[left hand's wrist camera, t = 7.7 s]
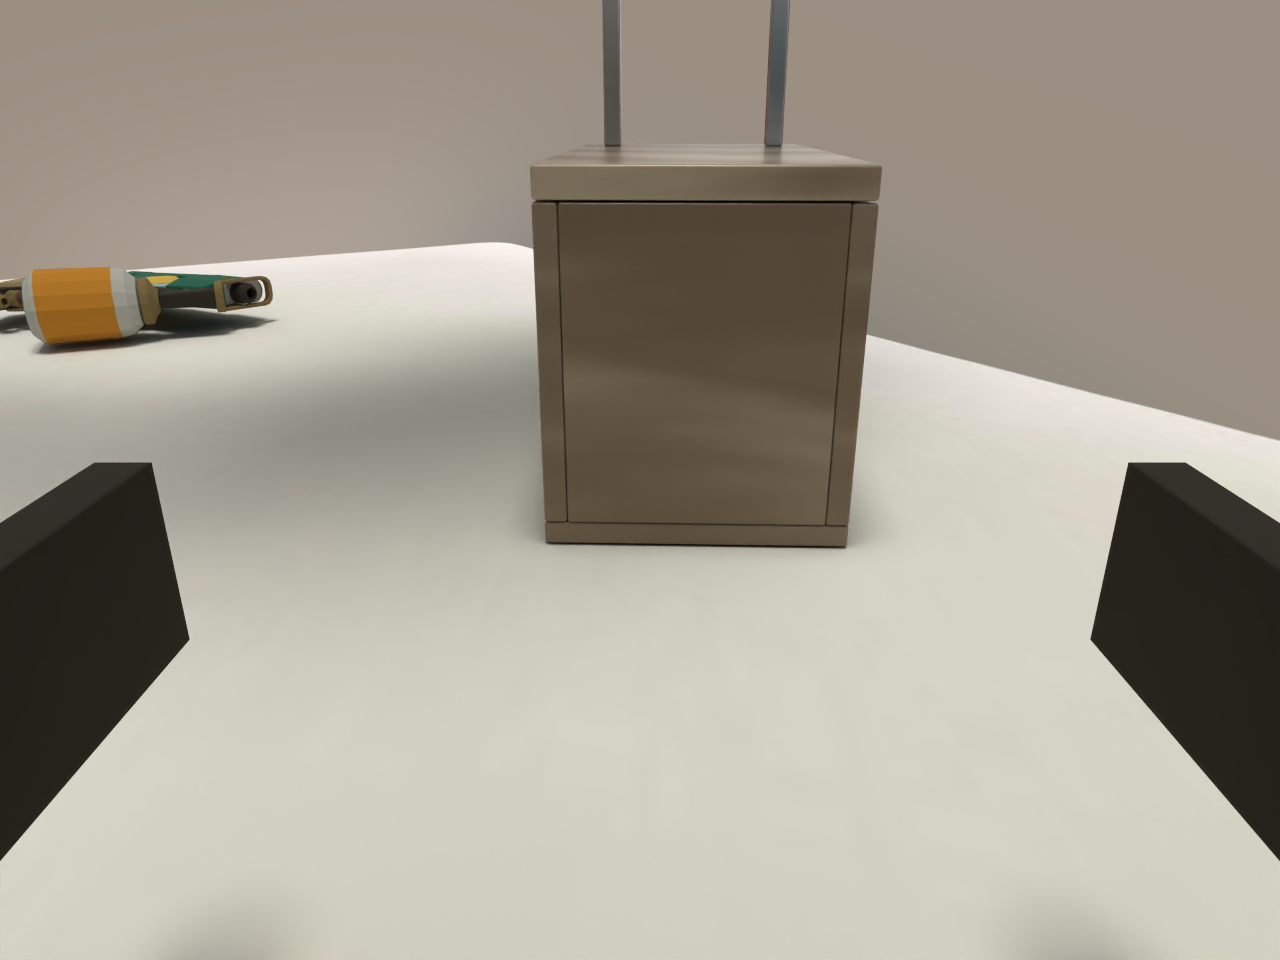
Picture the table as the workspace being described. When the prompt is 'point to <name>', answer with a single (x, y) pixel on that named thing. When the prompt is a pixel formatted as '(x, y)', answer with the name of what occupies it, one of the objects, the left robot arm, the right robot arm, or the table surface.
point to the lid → (702, 151)
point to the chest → (701, 368)
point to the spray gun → (118, 299)
